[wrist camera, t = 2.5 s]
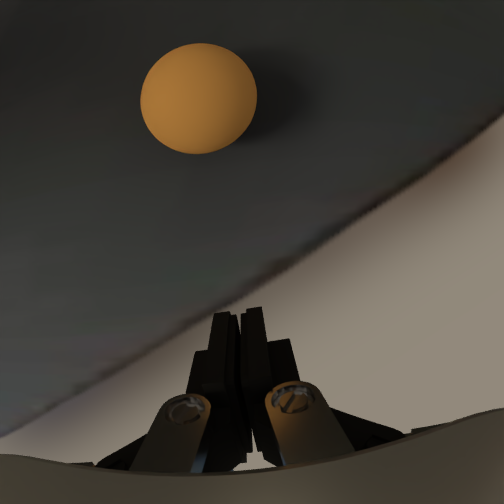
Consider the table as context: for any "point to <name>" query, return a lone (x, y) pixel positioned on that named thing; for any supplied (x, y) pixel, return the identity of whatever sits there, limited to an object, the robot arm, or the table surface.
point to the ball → (198, 98)
